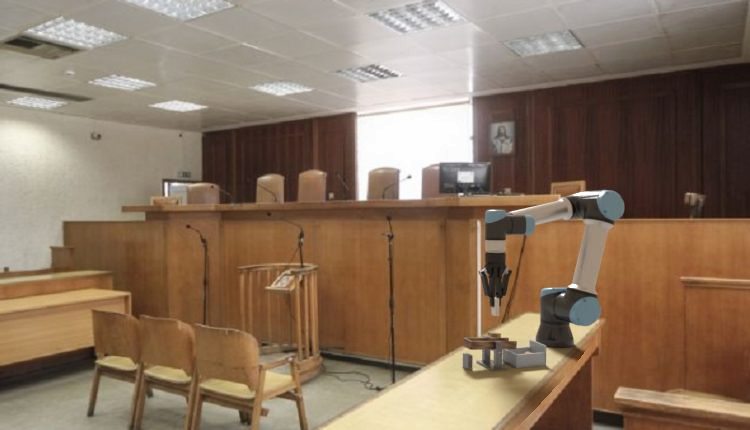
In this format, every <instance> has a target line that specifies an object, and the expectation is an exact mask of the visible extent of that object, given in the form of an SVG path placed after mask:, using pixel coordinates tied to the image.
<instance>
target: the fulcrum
mask: <svg viewBox="0 0 750 430" xmlns="http://www.w3.org/2000/svg"><path fill="white" fill-rule="evenodd" d="M481 338H491V337H490V336H487V335H482V337H481ZM481 352H482V353H481V360H476V363H477V364H479V365H481V366H482V367H484V368H486V369H487V370H489V371H491V372H497V371H499V372H500V371H508V370H509V368H508V367H507V366H504V365H503V361H502V359H503V349H502V341H494V349H493V350H481ZM491 352H493V359H491ZM473 358H474V356H473V355H472V354H471V353H469V352H462V367H463V368H464V369H466V370H468V371H471V370H473Z"/></svg>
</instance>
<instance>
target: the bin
mask: <svg viewBox="0 0 750 430" xmlns="http://www.w3.org/2000/svg"><path fill="white" fill-rule="evenodd" d="M525 352H531V353H529V354H524V353H525ZM503 362H504V363H506V364H507V365H509V366H512V367H514V368H516V369H518V368H519V369H521V368H532V367H543V366H547V346H546V345H544V344H541V343H538V342H536V340H533V339H529V346H521V347H520V346H519V347H518V346H517V347H516V349H502V363H503Z"/></svg>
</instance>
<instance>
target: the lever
mask: <svg viewBox="0 0 750 430" xmlns="http://www.w3.org/2000/svg"><path fill="white" fill-rule="evenodd" d="M486 332H487V333H486V334H487V335H486V336H490V337H491V338H482V337H462V346H463V347H464V348H466V349H468V350H470V351H471V350H472V351H474V350H475V351H478V350H479V351H482V350H490V351H492V350H493V349H494V341H502V350H503V349H516V348H518V346H517V343H518V341H517V340H510V338H509V337H502V333H501V332H499V331H496V330H495V331H494V330H493V331H492V330H491V331H486Z"/></svg>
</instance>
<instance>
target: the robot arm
mask: <svg viewBox="0 0 750 430" xmlns="http://www.w3.org/2000/svg"><path fill="white" fill-rule="evenodd" d="M624 213H625V202H624V199H623V198H622V196H621V195H620V194H619V192H616V191H615V190H611V189H610V190H607V189H601V190H599V189H598V190H583V191H580V192H577V193H574V194H570V195H566V196H563V197H559V198H558V199H557V200H556V201H552V202H548V203H543V204H539V205H535V206H530V207H526V208H522V209H518V210H517V209H516V210H512V211H508V212H506V210H505V209H487V210H486V211H485V213H484V214H485V216H484V251H485V253H484V262H485V263H484V267H483V269H481V270H478V274H479V276H480V279H481V283H482V288H483V289H482V290H483V293H484V296H486V297H488V298H489V307H491V316H493V317H499V316H500V307H502V299H503V298H504V297H506V295H507V291H508V286H509V282H510V276H511V275H512V273H513V271H512V270H511V269H508V267H507V264H506V262H507V254H506V250H507V241H506V240H507V236H527V235H528V236H529V235H532V234H533V233H534V232H535V230H536V226H537V225H541V224H546V223H550V222H554V221H558V220H565V221H569V220H574V219H575V220H576V219H579V220H580V219H581V220H582V222H583V224H584V225H585V226H584V231H583V234H582V235H583V236H582V238H581V243H580V248H579V252H578V257H577V260H576V265H575V270H574V274H573V276H572V277H573V278H572V281H571V282H572V283H571V284H570V285H567V286H566V287H544V288H542V289H541V290H540V295H539V299H540V302H539V303H540V307H539V309H540V310H539V312H540V314H539V315H540V316H539V318H540V319H539V326H538V329H537V332H536V334H535V341H536V342H538V343H541V344H544V345H546V347H551V348H552V347H553V348H570V347H573V346H575V338H574V336H573V332H572V329H571V326H570V325H571V324H573V325H575V326H578V327H580V326H581V327H589V326H590V327H591V325H594V324H595V323H596V322H597V321H598V320H599V319H600V315H601V313H602V312H601V311H602V306H601V305H600V302H599V300H598V296H599V294H598V292H597V291H596V285H597V281H598V276H599V272H600V269H601V263H602V259H603V255H604V250H605V246H606V244H607V239H608V235H609V234H608V233H609V231H610V230H611V229H613V228H614V226H615V223H616V222H615V221H617V220H620V218H622V217H623V215H624ZM487 274H488V276H487Z"/></svg>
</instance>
